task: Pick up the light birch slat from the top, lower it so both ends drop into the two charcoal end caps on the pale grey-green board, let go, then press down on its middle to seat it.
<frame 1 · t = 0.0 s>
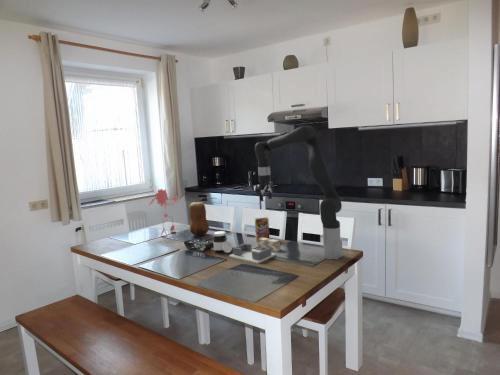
hand: (265, 199, 222), 29 cm above the table, tool pointing down, fingers open, 8 cm apart
candy box: (262, 240, 237), on the table
spread jar: (223, 251, 220), on the table
red flower in vase: (165, 234, 272), on the table
slat: (269, 249, 219), on the table
cradle: (252, 256, 207), on the table
butternut squash: (200, 235, 260), on the table
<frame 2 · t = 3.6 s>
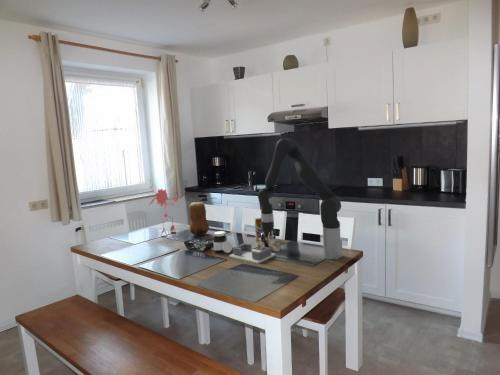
hand: (269, 247, 219), 1 cm above the table, tool pointing down, fingers closed on slat, 4 cm apart
slat: (269, 248, 219), on the table, touching gripper
everything else where it was.
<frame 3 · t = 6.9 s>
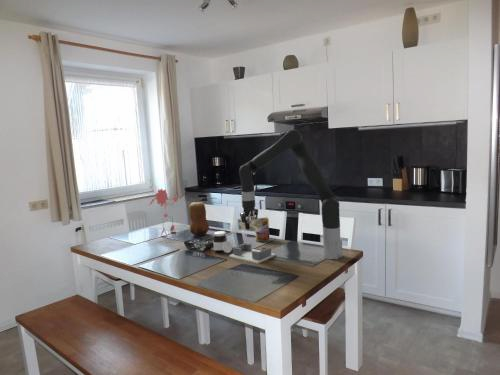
hand: (250, 228, 205), 17 cm above the table, tool pointing down, fingers closed on slat, 4 cm apart
slat: (250, 229, 205), point 16 cm above the table, touching gripper
everything else where it was.
when the fingers open (3 cm above the table, at t = 10.1 s): slat drops 1 cm, resting on cradle.
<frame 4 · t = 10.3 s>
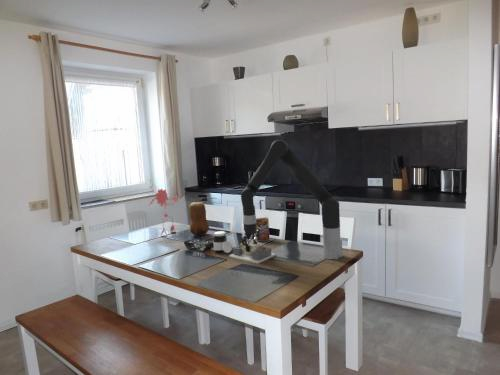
hand: (251, 250, 206), 4 cm above the table, tool pointing down, fingers open, 6 cm apart
slat: (252, 254, 207), point 1 cm above the table, touching cradle
everything else where it was.
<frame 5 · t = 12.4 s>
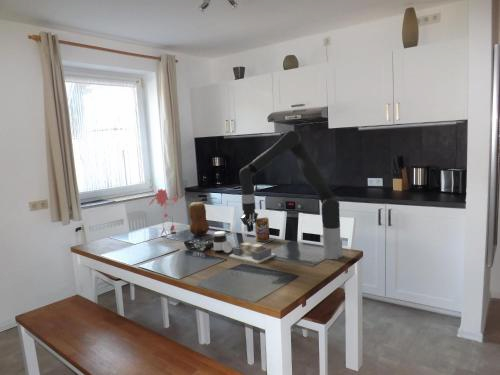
hand: (250, 231, 205), 15 cm above the table, tool pointing down, fingers closed
nothing on the table moved.
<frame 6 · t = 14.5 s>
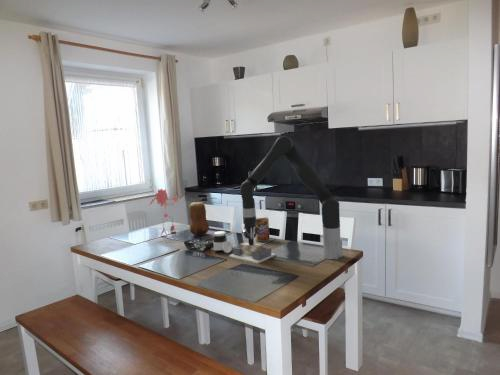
hand: (251, 244, 206), 7 cm above the table, tool pointing down, fingers closed
slat: (252, 254, 207), point 1 cm above the table, touching cradle, gripper
everything else where it was.
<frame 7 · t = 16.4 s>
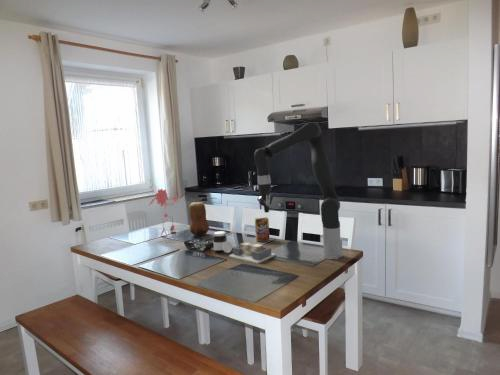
hand: (266, 212, 207), 25 cm above the table, tool pointing down, fingers closed
slat: (252, 254, 207), point 1 cm above the table, touching cradle
everything else where it was.
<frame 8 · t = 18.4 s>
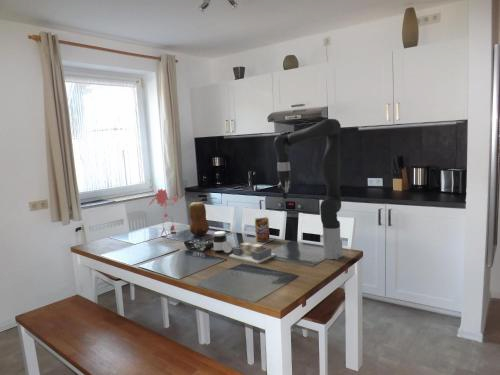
hand: (285, 198, 212), 31 cm above the table, tool pointing down, fingers closed
nothing on the table moved.
at the end: slat 0.0 cm off-centre on the cradle, point 1.0 cm above the cradle's base; slat tilted 0°; the gripper is holding nothing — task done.
